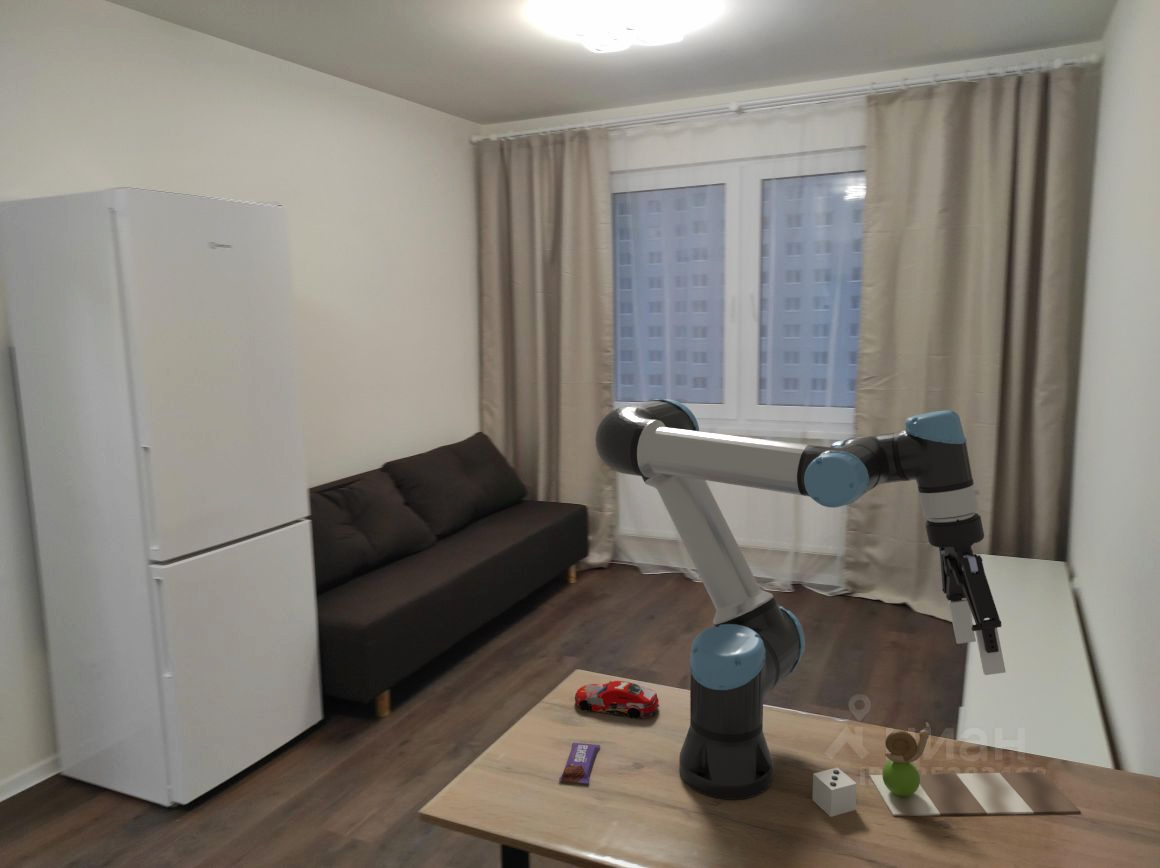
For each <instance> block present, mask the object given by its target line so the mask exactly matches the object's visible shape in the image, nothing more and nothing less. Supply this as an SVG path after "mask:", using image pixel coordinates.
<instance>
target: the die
mask: <svg viewBox="0 0 1160 868" xmlns="http://www.w3.org/2000/svg"><path fill="white" fill-rule="evenodd" d="M812 776H813V777H812V797H811V800H812V801H813V802H814V803H816V805H818V807H820V809H822V810H823V811H824V812H825V813H826V814H827V815H828V816H829V817H830V818H833V817H835V816H838V815H843V814H846V813H849V812H854V811H856V808H857V807H856V804H857V803H856V802H857V782H856V781H854V779H852V778H851V777H850V776H849V775H848V774H846V773H845V772H844V771H842V770H841V769H840V768H839V767H834V768H830V769H829V768H828V769H826V770H822V771H818V772H814V773H813V774H812Z"/></svg>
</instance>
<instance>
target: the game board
mask: <svg viewBox="0 0 1160 868" xmlns="http://www.w3.org/2000/svg"><path fill="white" fill-rule="evenodd" d="M919 776H920V784H919V787H918V789H917V790H916V792H915V793H913V794H912V795H909V796H898V795H896V794H894V793H892V792H891V791H890V790H889V789H888V788H887V787H886V785H885V784H884V781H883V777H882V774H869V779H870V780H871V782H872V784H873V785H874V787H875V788H876V790H877V791H878V793H879V795H880V796H881V798H882V799H883V802H884V803H885V805H886V807H887V808H888V809H889V811H890V813H891V814H892V816H893V817H912V816H913V817H914V816H916V817H919V816H969V815H975V816H977V815H1018V814H1019V815H1024V814H1025V815H1028V814H1029V815H1030V814H1031V815H1033V814H1035V815H1036V814H1041V815H1042V814H1043V815H1044V814H1080V813H1081V810H1080V809H1079V807H1077V805H1076V804H1075V803H1073V802H1072V800H1070V799H1069V798H1068V796H1066V794H1064V792H1062V790H1061V789H1059V788H1058V786H1057V785H1056V784H1055V783H1053V782H1054V781H1052V780H1051V779H1050V778H1049V777H1048V776H1047V775H1046V774H1045V773H1044V772H1043V771H1041V772H1039V771H1036V772H1033V771H1032V772H977V773H976V772H974V773H973V772H971V773H919Z"/></svg>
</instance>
